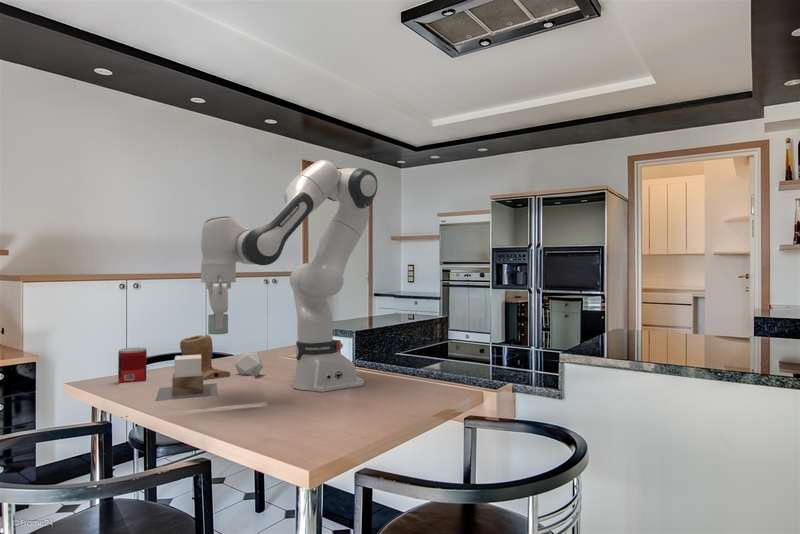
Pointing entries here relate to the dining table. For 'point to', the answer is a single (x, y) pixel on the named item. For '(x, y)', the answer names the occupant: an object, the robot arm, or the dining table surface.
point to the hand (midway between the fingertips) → (218, 327)
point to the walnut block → (187, 385)
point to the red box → (132, 365)
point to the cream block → (187, 366)
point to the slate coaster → (167, 395)
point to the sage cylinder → (213, 329)
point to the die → (249, 364)
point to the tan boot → (202, 355)
